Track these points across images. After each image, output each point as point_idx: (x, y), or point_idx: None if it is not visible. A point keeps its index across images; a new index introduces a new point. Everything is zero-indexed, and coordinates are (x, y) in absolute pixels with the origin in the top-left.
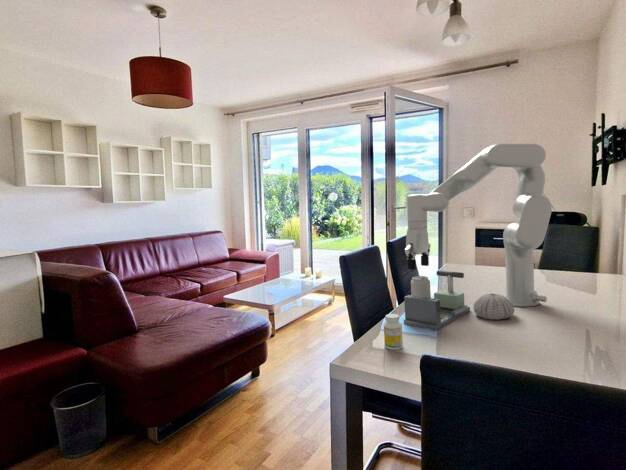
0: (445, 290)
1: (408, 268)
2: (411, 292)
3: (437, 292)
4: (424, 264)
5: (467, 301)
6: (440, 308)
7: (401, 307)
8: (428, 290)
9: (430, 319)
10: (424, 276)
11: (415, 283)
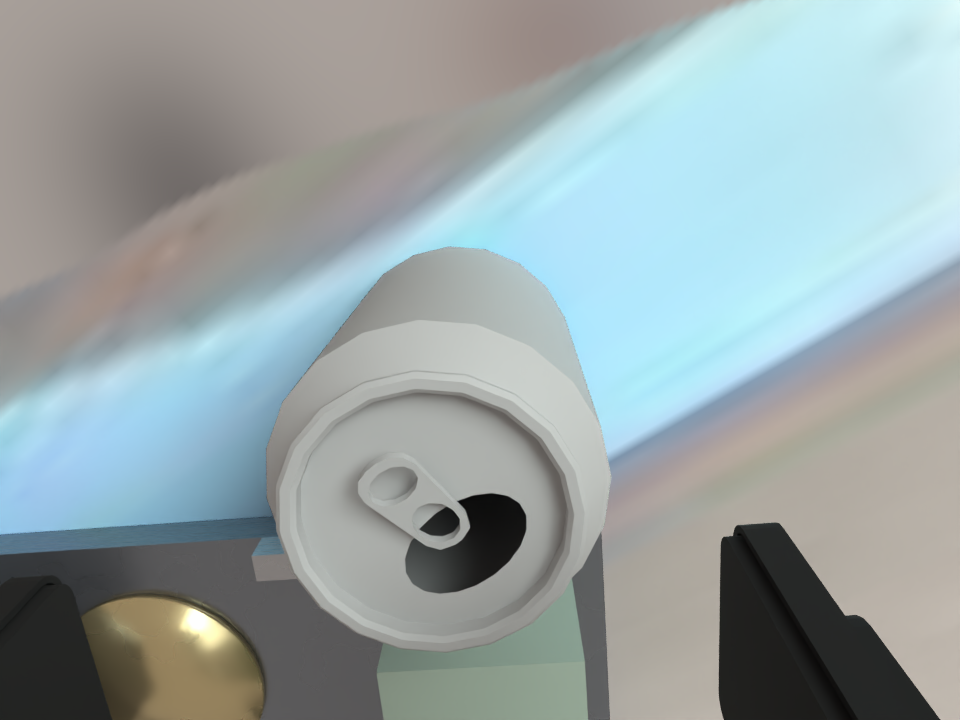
0: (580, 709)
1: (12, 595)
2: (344, 323)
3: (430, 688)
4: (728, 647)
5: (897, 612)
6: None
7: (269, 198)
8: (446, 556)
9: None
10: (572, 528)
11: (268, 501)
